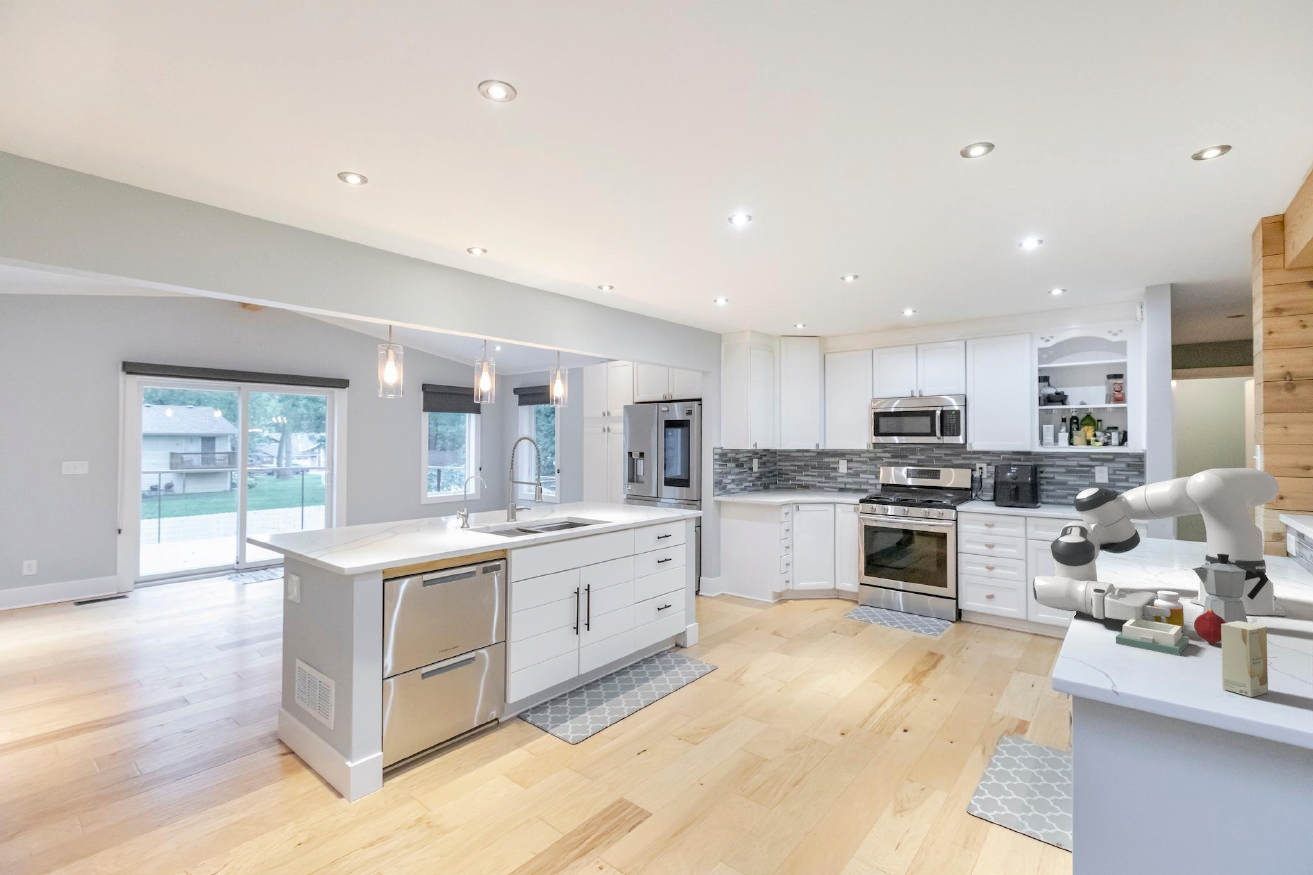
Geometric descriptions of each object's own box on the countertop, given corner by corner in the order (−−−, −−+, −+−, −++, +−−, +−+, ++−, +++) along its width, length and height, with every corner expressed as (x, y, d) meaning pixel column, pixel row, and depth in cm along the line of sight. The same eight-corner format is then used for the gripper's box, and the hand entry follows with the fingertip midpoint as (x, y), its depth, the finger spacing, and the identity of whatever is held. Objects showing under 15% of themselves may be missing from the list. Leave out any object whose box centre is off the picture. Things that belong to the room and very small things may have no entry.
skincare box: (1252, 698, 106) (1250, 630, 106) (1221, 689, 110) (1219, 623, 110) (1270, 692, 108) (1268, 625, 109) (1239, 683, 112) (1237, 619, 113)
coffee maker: (1201, 627, 147) (1199, 555, 147) (1185, 618, 155) (1183, 549, 155) (1280, 634, 141) (1278, 559, 142) (1258, 623, 149) (1256, 552, 150)
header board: (1128, 632, 144) (1128, 615, 144) (1188, 643, 135) (1188, 625, 135) (1115, 643, 136) (1115, 625, 136) (1178, 655, 128) (1178, 637, 128)
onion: (1236, 649, 131) (1235, 613, 132) (1206, 647, 133) (1205, 611, 133) (1217, 640, 137) (1216, 606, 137) (1188, 639, 138) (1187, 605, 138)
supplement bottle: (1188, 633, 142) (1187, 593, 142) (1177, 637, 140) (1176, 596, 140) (1161, 627, 147) (1160, 588, 147) (1150, 631, 145) (1149, 591, 145)
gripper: (1114, 604, 160) (1181, 615, 149) (1093, 619, 147) (1165, 632, 136) (1113, 581, 160) (1181, 590, 150) (1092, 593, 147) (1164, 604, 136)
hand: (1173, 610), depth 143 cm, fingers closed on supplement bottle, 5 cm apart
